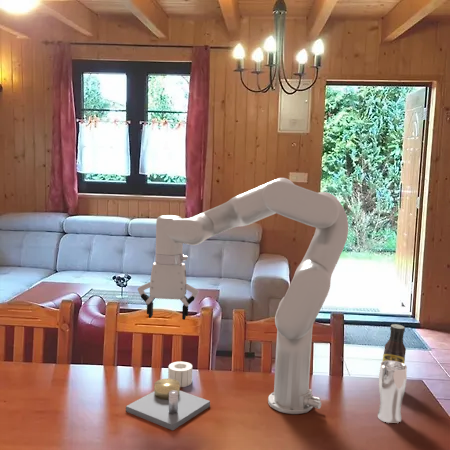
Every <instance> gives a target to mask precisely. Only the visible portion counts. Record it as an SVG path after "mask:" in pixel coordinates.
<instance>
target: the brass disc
mask: <svg viewBox="0 0 450 450" xmlns="http://www.w3.org/2000/svg"><path fill="white" fill-rule="evenodd" d="M153 384H154V389H153V390H154V391H153V392H154V395H155V397H156V398H158V399H162V400H169V392H170V391H172V390H175V391H178V396H179V392H180V391H181V390H180V389H181V387H180V383H179V382H178V381H177V380H174V379H168V378H161V379H158V380H156V381H155V382H154V383H153Z"/></svg>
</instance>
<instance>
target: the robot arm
mask: <svg viewBox="0 0 450 450" xmlns="http://www.w3.org/2000/svg"><path fill="white" fill-rule="evenodd" d="M275 214H277V215H280V216H283V217H284V218H287V219H290V220H293V221H296V222H298V223H301V224H303V225H306V226H310V227H312V228H315V230H314V234H313V236H312V239H311V240H310V243H309V245H308V248H307V250H306V252H305V254H304V256H303V258H302V260H301V262H300V263H299V264H298V265H297V267H296V270H295V272H294V275H293V278H292V279H291V282H290V283H289V286H288V288H287V290H286V293H284V294H285V295H284V296H283V297H282V298H281V299H280V301H279V303H278V306H277V309H276V312H275V317H274V324H275V327H276V329H277V331H276V347H275V362H274V363H275V366H274V367H275V368H274V383H273V384H274V385H273V388H274V389H273V392H271V393H270V394H269V395H268V397H267V402H268V405H269V406H270V408H272V409H274V410H276V411H278V412H280V413H283V414H289V415H299V414H306V413H308V412H309V411H311V410H312V409H313V408H315V409H319V410H320V409H321V407H322V401H321V398H320V397H318V396H314V395H313V390H312V389H311V388H310V374H311V373H310V372H311V371H310V370H311V369H310V368H311V357H312V356H311V355H312V354H311V353H312V340H313V339H312V338H313V327H314V323H315V321H316V319H317V318H318V317H317V316H318V315H319V313H320V311H321V309H322V307H323V305H324V303H325V301H326V299H327V297H328V295H329V292H330V288H331V280H332V275H333V273H334V270H335V268H336V267H337V264H338V262H339V259H340V258H341V254H342V253H343V250H344V248H345V246H346V243H347V239H348V236H349V221H348V215H347V212H346V211H345V209H344V207H343V205H342V204H341V202H340V200H338V199H337V197H336V196H335V195H333V194H332V193H330V192H327V191H326V192H325V191H320V192H318V191H317V192H316V191H313V190H311V189H308V188H305V187H303V186H300V185H297V184H295V183H294V182H293V181H292V180H290V179H288V178H286V177H278V178H276V179H273V180H270V181H268V182H266V183H264V184H261V185H258V186H257V187H254V188H252V189H249V190H248V191H245V192H243V193H239V194H238V195H236V196H233V197H231V198H230V199H229V200H228V201H226V202H224V203H221V204H219V205H217V206H215V207H212V208H210V209H208V210H205V211H204V212H203V211H202V212H201V213H199V214H196V215H193V216H191V217H188V218H182V217H181V216H179V215H176V214H175V215H173V214H166V215H165V214H164V215H160V216H158V217H157V218H156V223H155V224H156V225H155V261H154V262H153V263H152V268H151V272H150V273H151V274H150V281H149V282H147V283H145V284H142V285H141V286H139V287H138V288H137V292H138V294H139V296H140V298H141V299H142V300H143V301H144V302H145V304H146V315H148V319H152V317H153V315H154V302H153V300H155V299H159V300H176V301H177V300H178V301H179V300H180V302H181V303H182V313H181V315H182V316H181V318H182V320H184V321H185V320H186V317H188V316H189V305H190V304H191V303H192V302H193V301H194V300H195V299H196V297H197V295H198V294H199V289H197V288H195V287H193V286H192V285H190V284H188V283H187V269H186V268H187V267H186V264H185V263H184V262H185V261H186V262H187V261H188V255H184V253H183V248H184V247H183V244H185V245H189V246H197V245H200V244H202V243H203V242H205V241H206V240H208V239H210V238H212V237H214V236H217V235H219V234H221V233H224V232H226V231H229V230H231V229H234V228H237V227H246V226H249V225H251V224H255V223H257V222H258V221H261V220H264V219H265V218H268V217H270V216H273V215H275ZM147 289H149V296H148V295H147V294H146V292H145V290H147ZM187 291H188V292H190V293H191V296H189V297H187V296H186V294H187Z"/></svg>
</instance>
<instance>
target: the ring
mask: <svg viewBox="0 0 450 450" xmlns="http://www.w3.org/2000/svg"><path fill="white" fill-rule="evenodd" d="M167 373H168V375H167V377H168V378H167V379H174V380H177V381H178V382H179V383H180V388H185V387H189V386H191V385H192V383H193V364H192V363H190V362H187V361H181V360H179V361H174V362H171V363H169V365H168V372H167Z"/></svg>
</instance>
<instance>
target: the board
mask: <svg viewBox="0 0 450 450" xmlns="http://www.w3.org/2000/svg"><path fill="white" fill-rule="evenodd" d="M210 407H211V401H210V400H208V399H205V398H203V397H200V396H197V395H193V394H191V393H188V392H186V391H183V390H180V392H179V396H178V413H177V414H175V415H171V414H169V400H162V399H158V398H156V397H155V395H154V391H151V392H150V393H148V394H146V395H144V396H142V397H140V398H138V399H136V400H134V401H133V402H131V403H129V404H128V405H126V406H125V412H126V413H129V414H131V415H134V416H136V417H137V418H142V419H144V420H146V421H148V422H150V423H153V424H155V425H158V426H161V427H163V428H165V429H168V430H171V431H174V430H176V429H177V428H179V427H180V426H182V425H184V424H185V423H187V422H188V421H190V420H191V419H193V418H194V417H196V416H197V415H199V414H201V413H202V412H203V411H205V410H206V409H208V408H210Z"/></svg>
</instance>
